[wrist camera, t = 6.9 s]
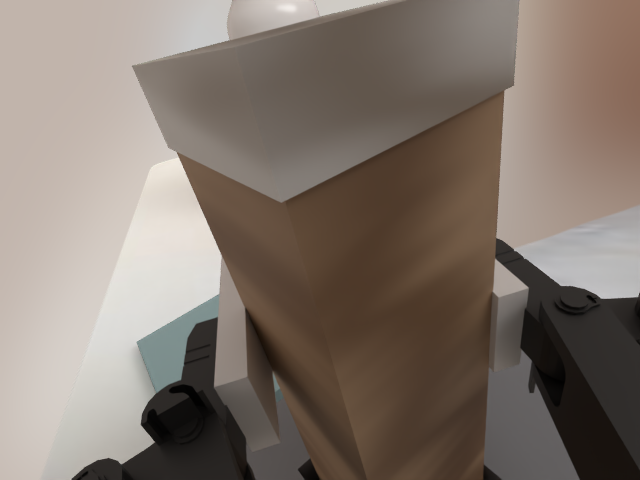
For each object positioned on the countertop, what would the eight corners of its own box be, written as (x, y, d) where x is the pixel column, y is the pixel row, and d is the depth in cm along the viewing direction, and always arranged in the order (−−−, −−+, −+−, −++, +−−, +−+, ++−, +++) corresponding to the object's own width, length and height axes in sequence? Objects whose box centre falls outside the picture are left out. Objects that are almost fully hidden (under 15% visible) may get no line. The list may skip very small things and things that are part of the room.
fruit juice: (293, 185, 51) (224, -68, 36) (358, 180, 48) (312, -100, 33) (268, 220, 43) (169, -81, 29) (343, 216, 40) (276, -124, 26)
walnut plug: (398, 428, 18) (326, 15, 9) (484, 511, 15) (521, -32, 5) (325, 499, 16) (132, 66, 7) (405, 614, 13) (233, 47, 3)
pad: (303, 254, 35) (301, 246, 35) (394, 312, 26) (392, 302, 26) (142, 350, 29) (136, 341, 28) (190, 471, 20) (183, 461, 19)
